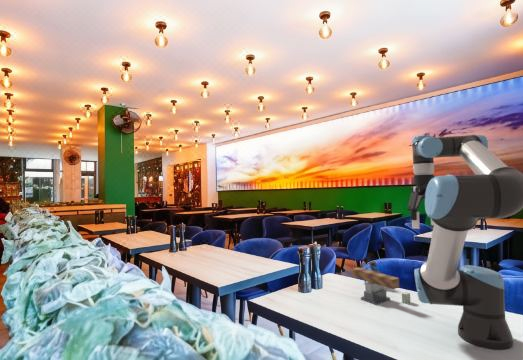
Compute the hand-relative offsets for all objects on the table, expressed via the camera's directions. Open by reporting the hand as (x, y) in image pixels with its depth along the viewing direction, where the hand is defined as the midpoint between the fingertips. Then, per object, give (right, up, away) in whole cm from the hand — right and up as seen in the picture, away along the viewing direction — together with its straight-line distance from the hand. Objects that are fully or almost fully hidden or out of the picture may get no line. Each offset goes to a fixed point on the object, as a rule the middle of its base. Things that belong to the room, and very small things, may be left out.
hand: (425, 226), depth 129 cm
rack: (-8, -35, +20) cm, 41 cm away
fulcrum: (-15, -35, +16) cm, 41 cm away
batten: (-15, -27, +16) cm, 35 cm away
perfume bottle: (-9, -36, +35) cm, 50 cm away
